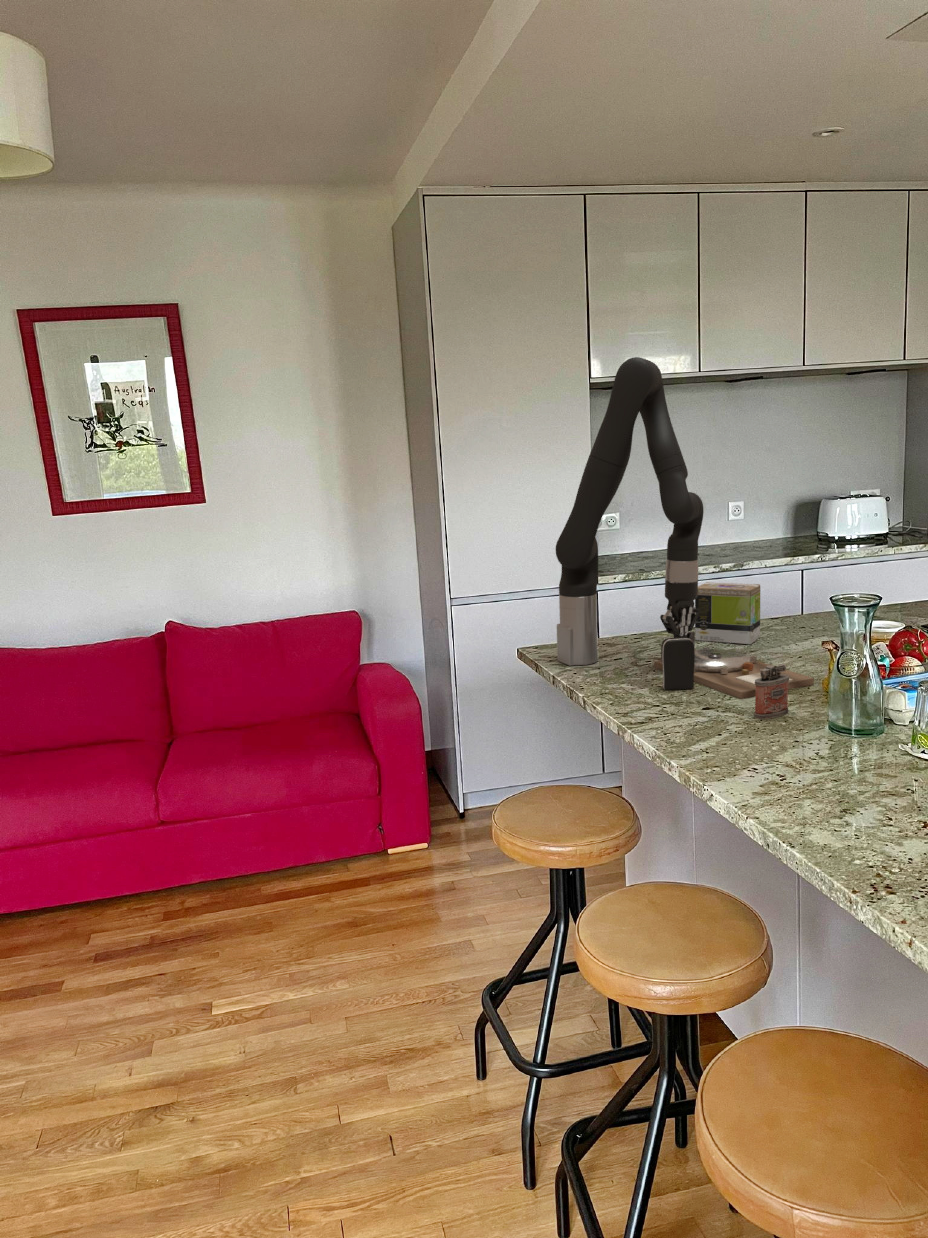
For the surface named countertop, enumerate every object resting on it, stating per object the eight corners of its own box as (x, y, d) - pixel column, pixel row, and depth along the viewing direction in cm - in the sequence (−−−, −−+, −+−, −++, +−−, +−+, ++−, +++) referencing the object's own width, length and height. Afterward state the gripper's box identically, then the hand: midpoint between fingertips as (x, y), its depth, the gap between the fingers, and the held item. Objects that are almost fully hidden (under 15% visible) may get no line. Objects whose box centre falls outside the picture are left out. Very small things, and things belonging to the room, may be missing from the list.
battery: (690, 684, 203) (690, 635, 201) (695, 689, 199) (695, 639, 197) (659, 686, 203) (659, 636, 201) (663, 691, 199) (663, 640, 197)
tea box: (760, 637, 244) (761, 583, 240) (750, 645, 235) (751, 589, 232) (705, 633, 252) (706, 580, 248) (693, 640, 243) (694, 586, 240)
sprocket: (728, 678, 200) (729, 650, 199) (656, 665, 214) (656, 638, 213) (772, 661, 213) (773, 634, 211) (702, 649, 227) (702, 624, 225)
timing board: (741, 699, 191) (741, 687, 190) (654, 667, 219) (654, 657, 218) (813, 684, 199) (814, 673, 198) (720, 655, 227) (720, 645, 226)
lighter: (762, 720, 177) (763, 671, 175) (749, 716, 180) (750, 667, 178) (792, 713, 181) (793, 664, 179) (779, 708, 184) (780, 661, 182)
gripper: (685, 573, 219) (683, 643, 223) (651, 580, 211) (649, 652, 214) (711, 576, 213) (709, 648, 217) (677, 584, 205) (675, 658, 209)
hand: (679, 650), depth 216 cm, fingers closed
